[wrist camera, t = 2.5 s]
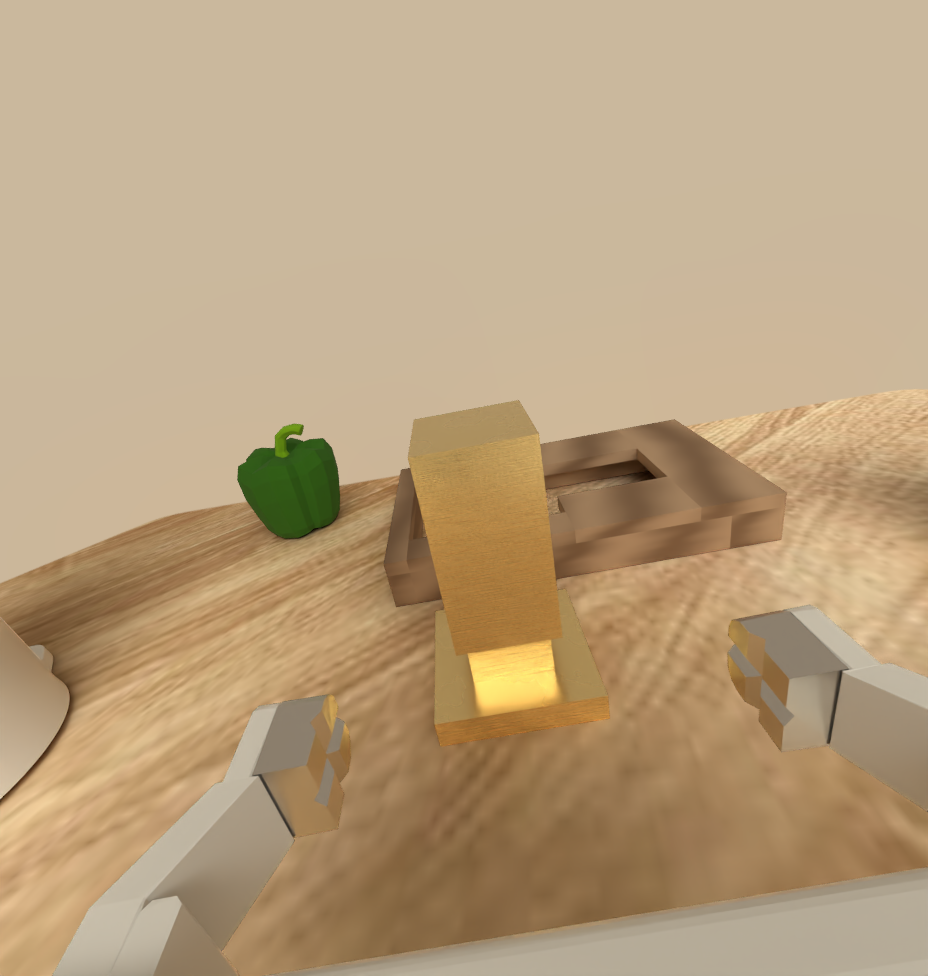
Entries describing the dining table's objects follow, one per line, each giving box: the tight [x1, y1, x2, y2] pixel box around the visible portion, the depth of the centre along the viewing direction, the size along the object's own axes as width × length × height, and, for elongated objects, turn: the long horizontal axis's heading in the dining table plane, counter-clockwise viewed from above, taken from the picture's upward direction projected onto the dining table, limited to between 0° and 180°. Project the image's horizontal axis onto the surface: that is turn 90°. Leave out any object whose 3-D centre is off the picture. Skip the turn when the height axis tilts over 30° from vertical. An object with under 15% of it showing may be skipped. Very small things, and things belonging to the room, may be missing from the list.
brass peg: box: [408, 400, 610, 746], centre depth 23 cm, size 8×8×14 cm
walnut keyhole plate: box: [384, 420, 787, 607], centre depth 39 cm, size 26×16×4 cm, turn 93°
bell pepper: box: [237, 424, 340, 539], centre depth 45 cm, size 8×8×10 cm
